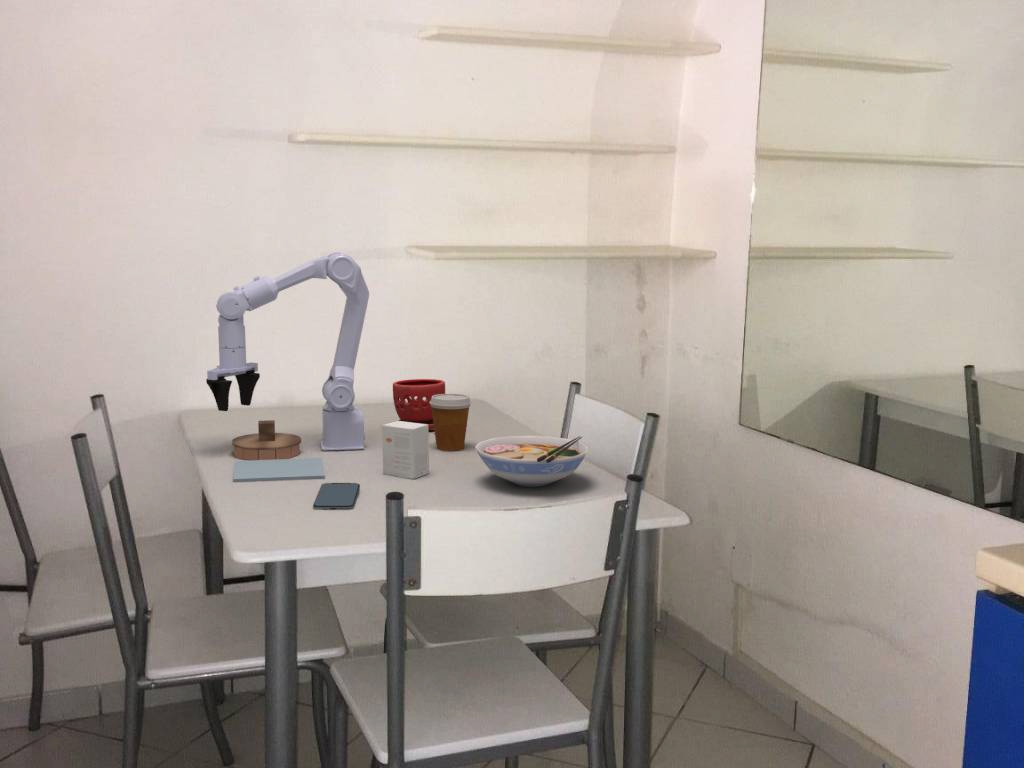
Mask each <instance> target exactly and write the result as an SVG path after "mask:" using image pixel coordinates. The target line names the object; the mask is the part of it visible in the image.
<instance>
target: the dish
mask: <svg viewBox="0 0 1024 768" xmlns="http://www.w3.org/2000/svg"><path fill="white" fill-rule="evenodd" d="M233 448H234V449H233V451H234V455H233V456H234V457H235V458H238V459H241V460H244V461H247V460H276V459H293V457H296V456H299V455H300V444H298V445H296V446H292V447H288V448H281V449H269V450H253V449H243V448H238V447H235V446H233Z"/></svg>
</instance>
